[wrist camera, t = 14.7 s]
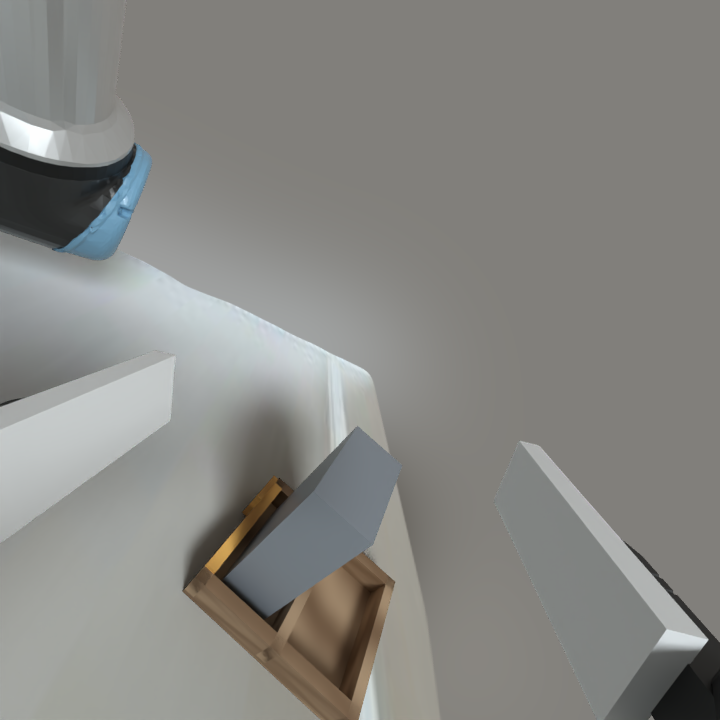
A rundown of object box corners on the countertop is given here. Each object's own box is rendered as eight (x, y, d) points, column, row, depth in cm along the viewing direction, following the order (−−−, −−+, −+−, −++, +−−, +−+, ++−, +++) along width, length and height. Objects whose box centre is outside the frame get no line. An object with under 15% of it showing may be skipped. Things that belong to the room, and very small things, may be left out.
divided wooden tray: (333, 731, 27) (363, 724, 25) (177, 586, 28) (193, 567, 26) (376, 592, 38) (400, 578, 36) (262, 489, 38) (279, 469, 36)
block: (260, 622, 29) (373, 544, 21) (218, 583, 29) (313, 491, 21) (305, 545, 36) (402, 465, 28) (271, 515, 36) (357, 425, 28)
